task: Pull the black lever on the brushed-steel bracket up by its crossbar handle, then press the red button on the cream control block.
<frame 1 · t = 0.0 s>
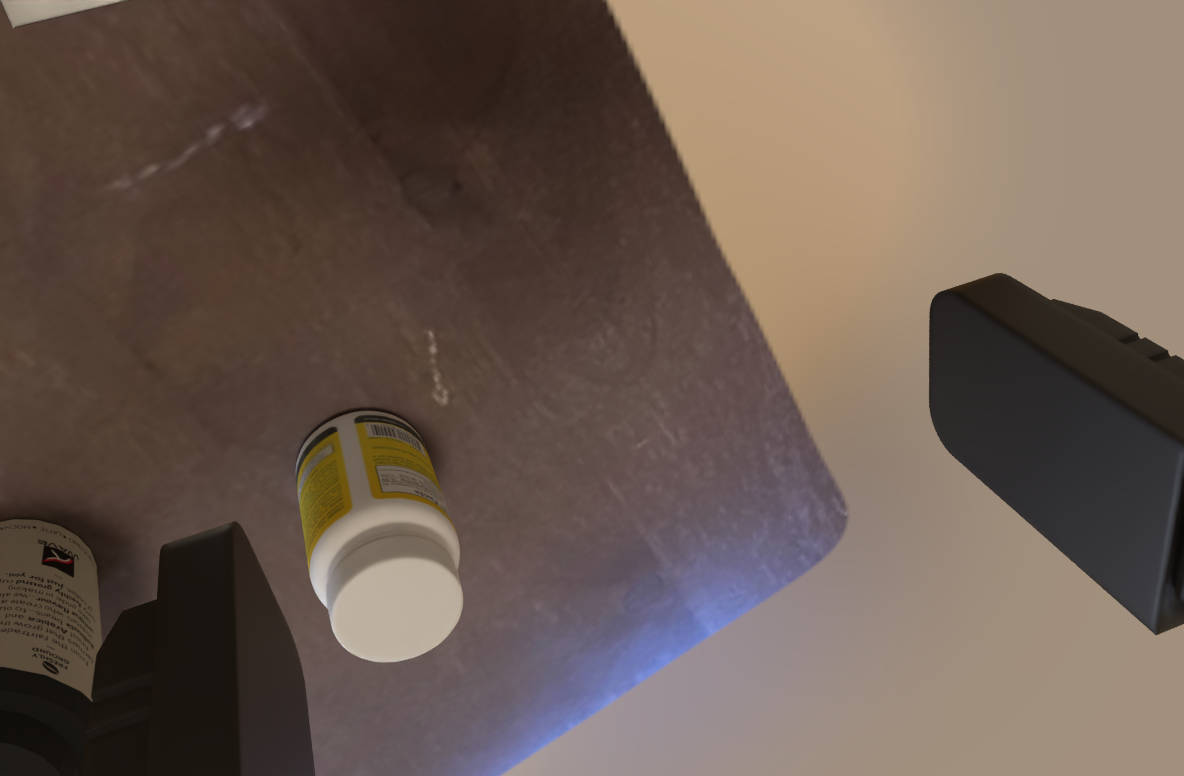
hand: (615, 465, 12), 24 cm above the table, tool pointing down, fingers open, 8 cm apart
supplement bottle: (361, 460, 38), on the table
coffee cup: (24, 570, 36), on the table
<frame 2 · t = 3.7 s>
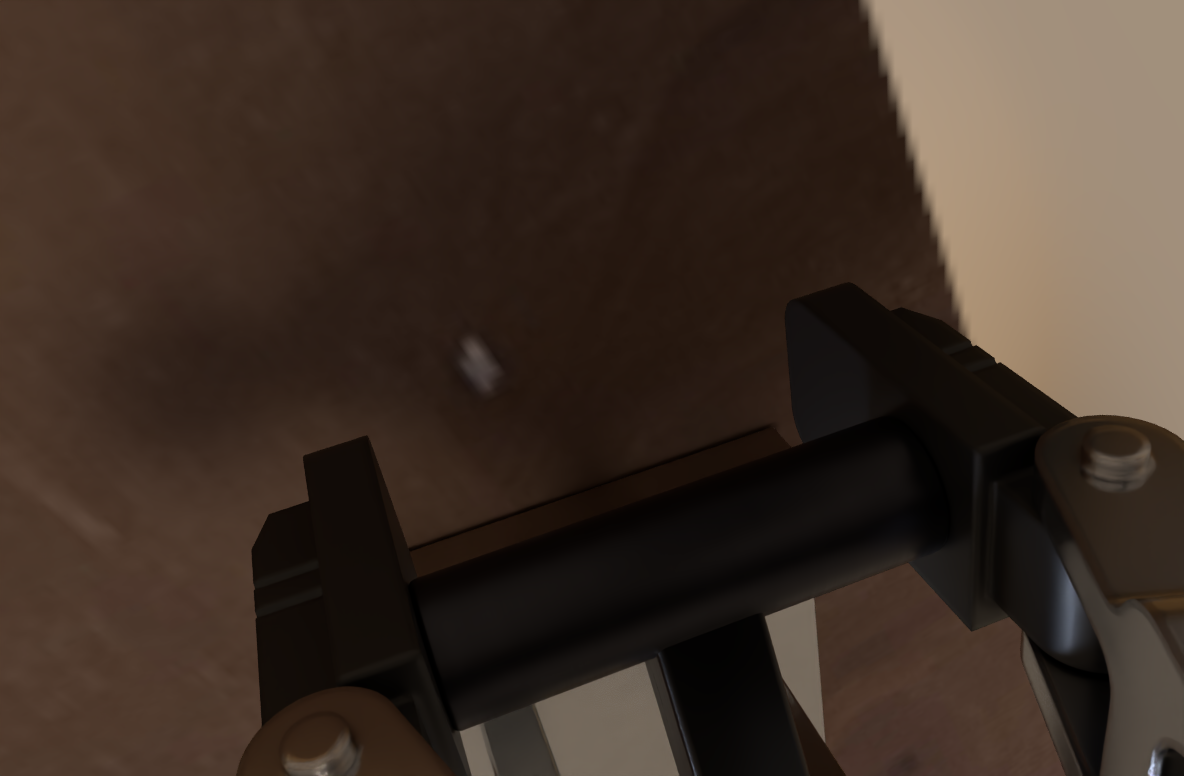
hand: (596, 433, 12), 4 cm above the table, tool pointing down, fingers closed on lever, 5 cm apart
bracket: (608, 693, 20), on the table
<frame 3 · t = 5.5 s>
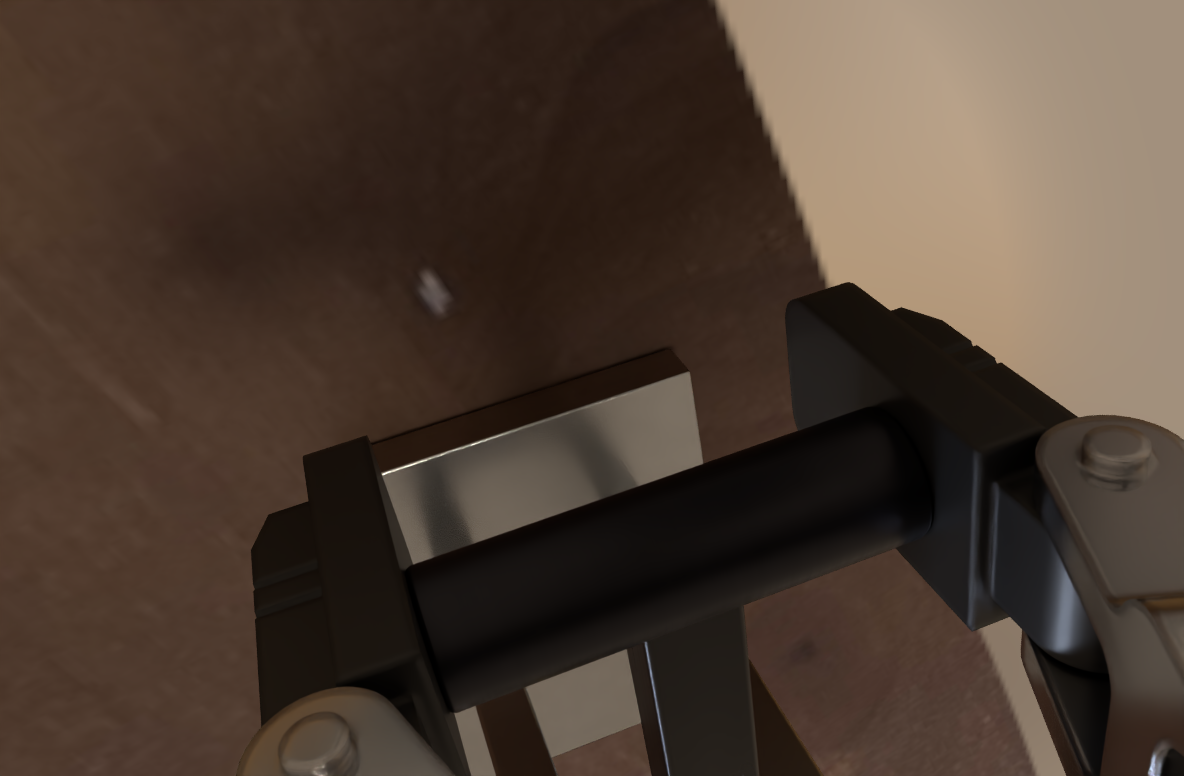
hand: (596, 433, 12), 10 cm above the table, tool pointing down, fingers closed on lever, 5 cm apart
bracket: (546, 570, 25), on the table
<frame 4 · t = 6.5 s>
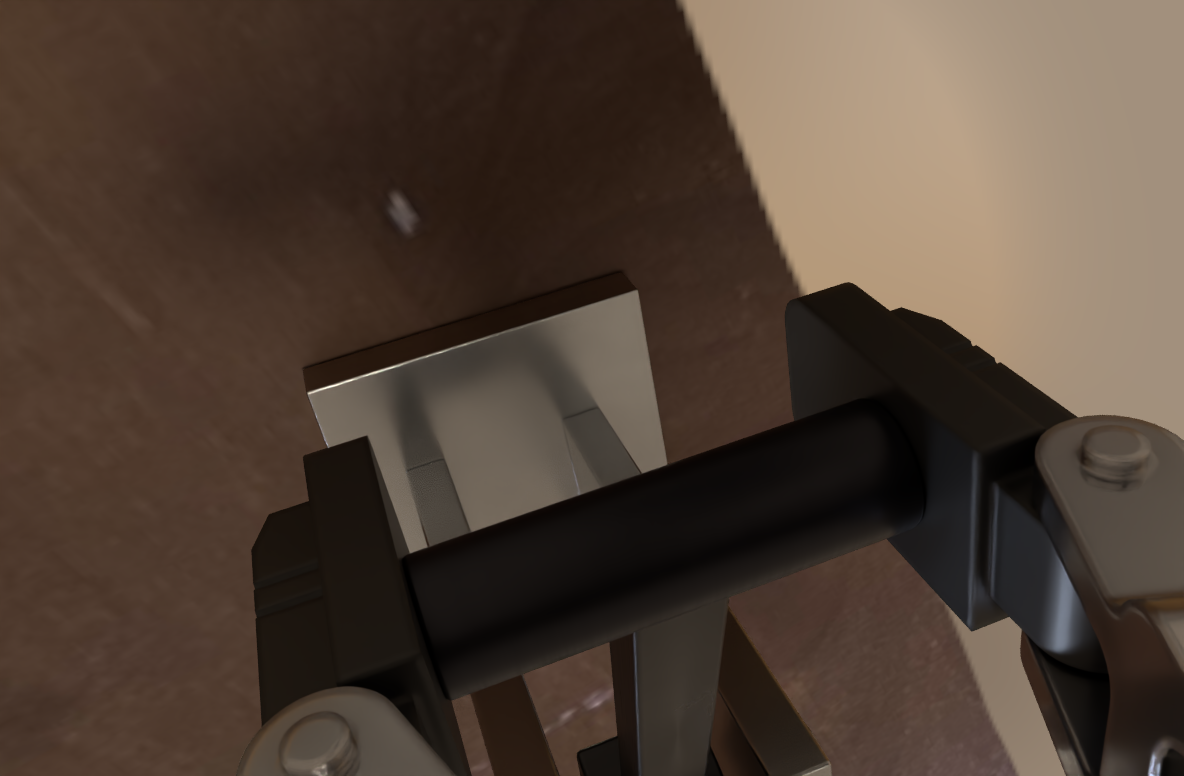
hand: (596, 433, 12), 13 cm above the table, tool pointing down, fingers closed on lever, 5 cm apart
bracket: (511, 482, 27), on the table
lever: (662, 726, 15), point 13 cm above the table, hinge at 21.6°, touching gripper
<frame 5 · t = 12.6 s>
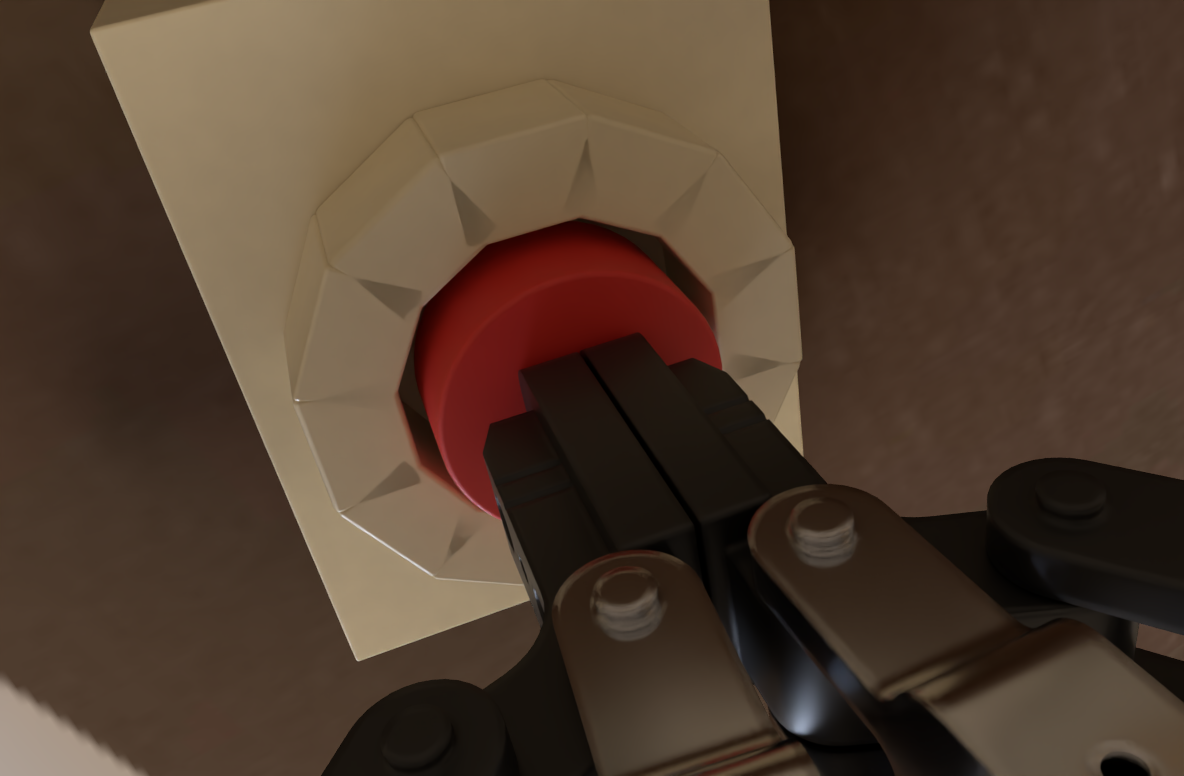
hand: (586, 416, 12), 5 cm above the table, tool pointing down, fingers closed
control block: (495, 262, 16), on the table
button: (566, 377, 13), point 4 cm above the table, slide at -0.5 cm, touching gripper
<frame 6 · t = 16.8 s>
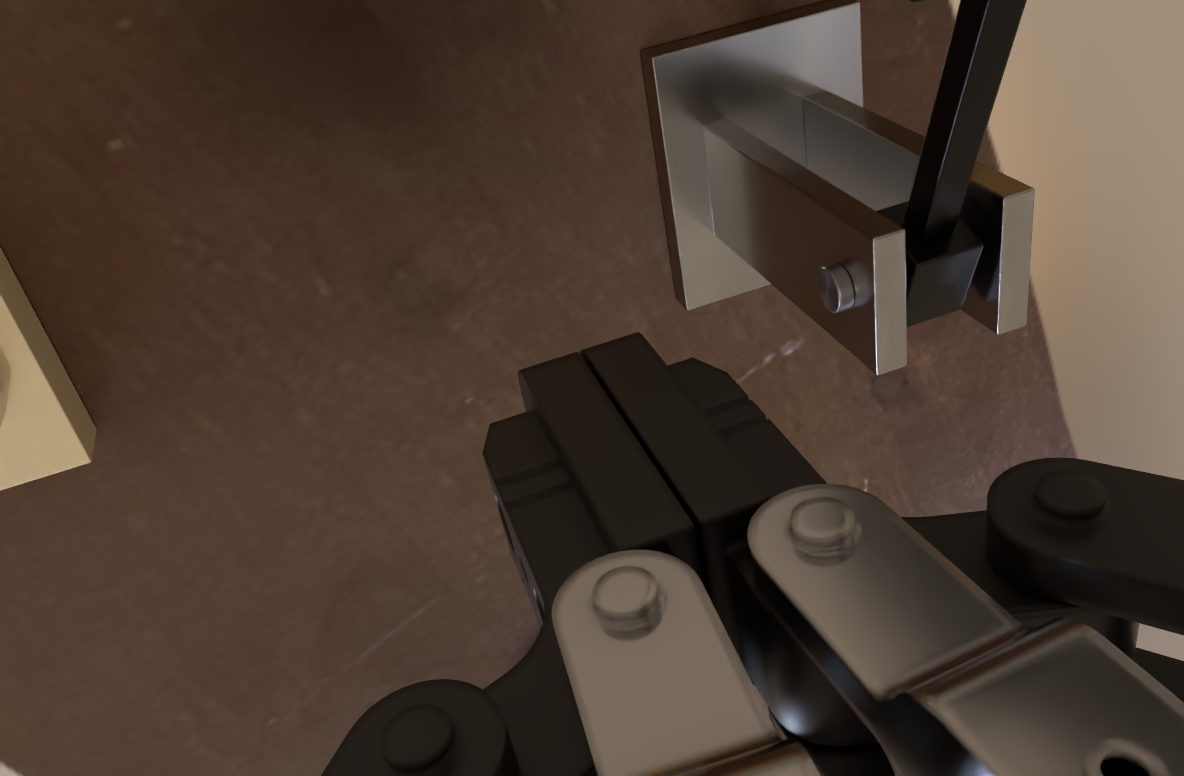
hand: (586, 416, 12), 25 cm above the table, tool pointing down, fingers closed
bracket: (755, 155, 40), on the table
lever: (954, 135, 27), point 13 cm above the table, hinge at 21.0°
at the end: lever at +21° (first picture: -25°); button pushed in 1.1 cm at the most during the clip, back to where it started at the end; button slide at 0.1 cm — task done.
